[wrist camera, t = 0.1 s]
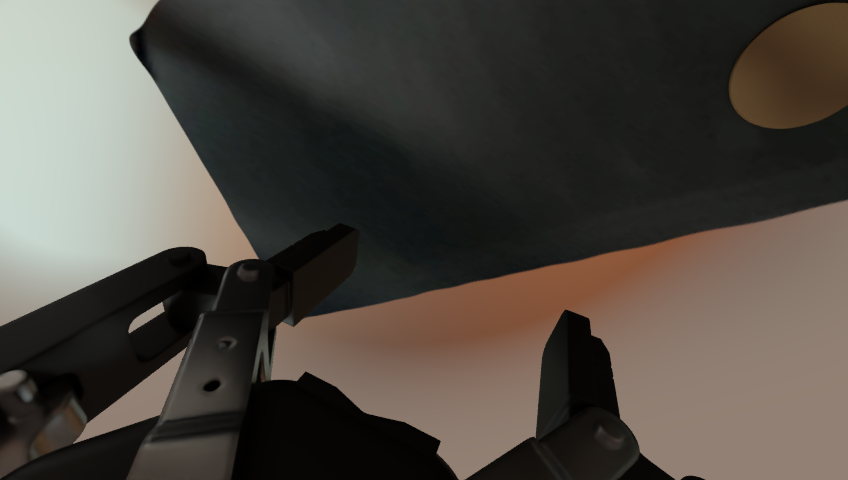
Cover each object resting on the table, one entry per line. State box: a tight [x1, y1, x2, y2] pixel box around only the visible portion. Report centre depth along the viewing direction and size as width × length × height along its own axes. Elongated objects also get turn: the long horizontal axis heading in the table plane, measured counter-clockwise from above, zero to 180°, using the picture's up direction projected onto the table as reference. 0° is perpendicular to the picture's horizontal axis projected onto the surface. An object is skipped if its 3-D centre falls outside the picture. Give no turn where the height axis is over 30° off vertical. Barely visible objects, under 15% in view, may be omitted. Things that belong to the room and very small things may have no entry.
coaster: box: [729, 3, 848, 129], centre depth 27 cm, size 9×9×1 cm
